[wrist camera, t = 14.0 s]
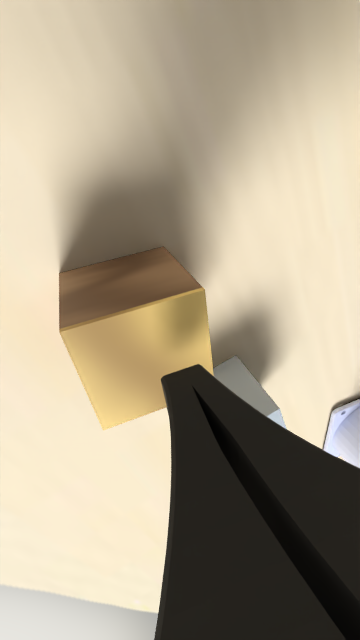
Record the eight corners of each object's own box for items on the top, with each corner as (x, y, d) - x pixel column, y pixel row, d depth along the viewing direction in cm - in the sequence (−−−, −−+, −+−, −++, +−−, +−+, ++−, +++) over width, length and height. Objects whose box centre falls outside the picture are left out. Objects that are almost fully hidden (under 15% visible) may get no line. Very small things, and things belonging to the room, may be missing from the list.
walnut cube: (59, 332, 10) (59, 272, 14) (103, 430, 12) (91, 355, 17) (204, 289, 11) (163, 246, 15) (215, 389, 13) (177, 328, 18)
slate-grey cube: (235, 354, 20) (279, 408, 16) (252, 397, 23) (294, 452, 19) (170, 392, 20) (198, 457, 16) (196, 430, 23) (226, 493, 19)
